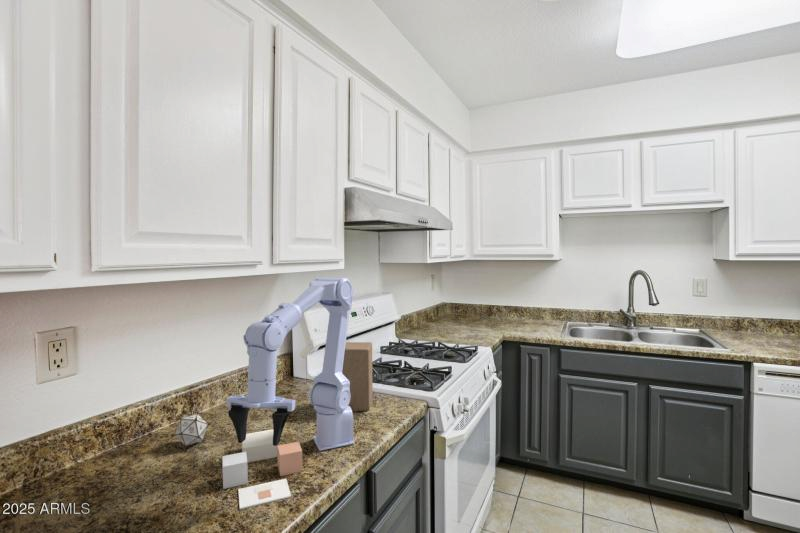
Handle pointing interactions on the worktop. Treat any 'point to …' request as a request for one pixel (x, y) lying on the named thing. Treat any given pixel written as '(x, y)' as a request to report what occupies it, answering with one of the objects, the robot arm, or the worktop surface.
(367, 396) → the wooden block
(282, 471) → the terracotta cube
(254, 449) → the cream base block
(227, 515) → the worktop surface
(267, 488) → the card
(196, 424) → the game die
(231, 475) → the white cube
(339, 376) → the robot arm
